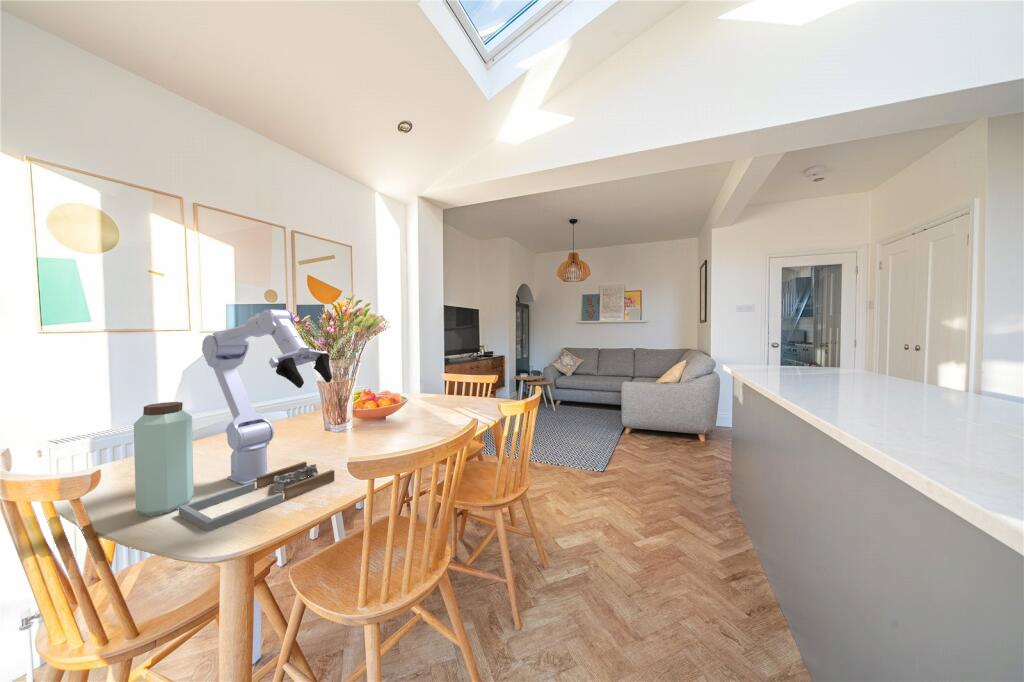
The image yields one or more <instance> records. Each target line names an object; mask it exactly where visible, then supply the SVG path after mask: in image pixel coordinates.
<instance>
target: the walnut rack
mask: <svg viewBox="0 0 1024 682" xmlns="http://www.w3.org/2000/svg"><path fill="white" fill-rule="evenodd" d="M307 464H308V463H307V462H306V461H302V462H299V463H296V464H293V465H289V466H287V467H283V468H281V469H277V470H274V471H270V472H271V473H268V474H265V475H262V476H258V477H257V481H256V488H257V489H258V488H260V489H263V488H265V486H266V487H268V486H267V485H269V486H271V485H270V484H272V485H274V484H273V483H275V481H274V476H278V475H279V477H280V476H281V475H284V474H287V473H293V472H295V471H297V470H302V469H303V468H304V467H306V466H308V465H307ZM330 482H331V483H333V482H335V470H333V469H330V470H328V471H324V472H322V473H318V475H316V476H314V477H311V478H308V479H306V480H303V481H300V482H297V483H295V484H292V485H289V486H287V487H284V494H283V500H286V501H289V500H291V499H294V498H296V497H298V495H299V496H301V495H304V494H305V493H308V492H311V491H314V490H315V489H318V488H321V487H323V486H325V485H328V484H331V483H330ZM262 487H263V488H262ZM303 493H304V494H303ZM293 497H294V498H293Z"/></svg>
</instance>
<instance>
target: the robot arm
mask: <svg viewBox="0 0 1024 682" xmlns="http://www.w3.org/2000/svg"><path fill="white" fill-rule="evenodd" d="M294 320H295V319H294V315H293V314H292V312H291V311H289V310H286V309H271V308H270V309H269V308H266V309H265V310H263V311H261V312H260V313H255V314H254V315H253V317H250V318H248V319H247V320H246V321H245V324H242V325H238V326H236V327H232V328H231V327H230V328H228V329H224V330H219V331H215V332H213V333H212V334H208V335H206V336H205V337H204V339H203V341H202V344H201V345H202V346H201V351H202V355H203V356H204V360H205V361H206V363H207V365H208V367H210V368H212V369H213V371H214V373H215V376H216V379H217V380H218V383H219V386H220V388H221V390H222V392H223V396H224V399H225V400H226V404H227V406H228V408H229V410H230V412H231V415H232V418H233V419H232V420H231V422H229V423H228V424H227V426H226V428H225V432H226V436H227V437H226V438H227V444H228V446H229V447H230V449H232V452H231V454H230V475H228V476H227V477H226V478H227V479H228V480H230V481H234V482H236V483H238V484H240V485H245V484H248V483H251V482H254V483H255V482H257V477H258V476H262V475H265V474H268V473H271V472H272V471H268V448H267V447H268V445H270V442H271V441H272V440H273V437H274V436H275V428H274V425H273V424H272V423H271V422H270V420H268V418H267V416H266V415H264V414H262V413H259V412H256V411H255V410H254V406H253V404H252V402H251V400H250V398H249V395H248V393H247V390H246V388H245V386H244V383H243V380H242V379H241V376H240V374H239V372H238V371H239V370H238V369H237V367H239V366H241V365H243V363H244V360H245V358H246V356H247V354H248V351H249V347H250V340H249V338H250V337H255V338H261V337H263V336H267V335H269V336H271V337H272V338H273V340H274V341H275V343H276V345H277V347H278V348H279V349H280V351H281V353H282V354H280V355H276V356H272V357H270V359H269V360H268V364H269V366H270V367H271V369H274V368H276V369H275V373H276V374H277V375H278V376H280V377H283V378H285V379H287V380H288V381H289V382H290V383H292V384H293V385H294V386H296V388H297V389H301V388H302V387H303V385H304V383H305V381H304V379H303V377H302V375H301V373H300V372H299V370H298V368H297V367H298V366H302V365H306V364H308V363H310V362H314V364H315V365H314V366H313V369H314V371H316V372H318V373H319V375H321V378H322V379H323V380H324V381H325V383H330V382H331V381H332V379H333V375H332V372H331V368H330V354H329V352H328V351H326V350H324V351H322V350H316V349H313V348H312V349H310V346H309V345H307V344H306V342H305V341H304V339H303V338H302V336H301V334H300V333H299V331H298V330H297V329H296V326H294V322H295V321H294Z"/></svg>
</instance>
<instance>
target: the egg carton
mask: <svg viewBox="0 0 1024 682" xmlns="http://www.w3.org/2000/svg"><path fill="white" fill-rule="evenodd" d="M316 475H319V472H318V468H317V464H310V465H307V466H306V467H304V468H303V469H302V470H297V471H295V472H293V473H287V474H284V475H281V476H280V477H279V475H278V476H274V481H275V483H274V484H273V485H274V491H279V492H278V493H283V492H282V491H284V487H287V486H289V485H292V484H295V483H297V482H300V481H303V480H306V479H308V478H311V477H314V476H316ZM308 476H309V477H308ZM274 491H273V492H274Z"/></svg>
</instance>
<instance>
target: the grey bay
mask: <svg viewBox="0 0 1024 682" xmlns="http://www.w3.org/2000/svg"><path fill="white" fill-rule="evenodd" d="M253 490H255V491H256V482H255V481H254V482H251V483H248V484H245V485H243V484H241V485H240V486H238V487H234V488H231V489H228V490H224V491H222V492H220V493H215V494H212V495H210V496H207V497H204V498H200V499H197V500H194V501H192V502H191V501H190V502H188V503H187V504H185V505H182V506H179V509H178V516H179V515H180V517H181V518H183V519H184V518H185V520H186V521H188V522H189V523H191V524H193V525H195V526H197V527H198V528H200V529H202V530H203V531H205V532H207V533H210V532H211V531H214V529H215V530H216V529H219V527H220V528H222V527H224V526H226V525H230V524H231V523H234V522H237V521H240V520H241V519H244V518H246V517H249V516H251V515H253V514H257V513H259V512H261V511H264V510H266V509H268V508H270V507H271V508H272V507H274V506H276V505H278V504H281V503H283V502H284V494H283V492H278V493H277V494H273V495H271V496H268V497H266V498H263V499H261V500H259V501H255V502H253V503H250V504H247V505H245V506H242V507H239V508H237V509H234V510H231V511H229V512H226V513H223V514H221V515H219V516H216V517H215V516H214V517H213V518H211V517H210V516H208V515H206V514H204V513H202V512H200V511H201V510H204V509H205V508H206V507H207V508H209V506H210V507H212V506H215V505H218V504H221V503H224V502H226V501H229V500H231V499H236V498H238V497H240V495H241V496H243V495H246V494H249V493H252V492H254V491H253ZM251 491H252V492H251ZM248 492H249V493H248ZM245 493H246V494H245ZM242 494H243V495H242ZM237 496H238V497H237ZM223 501H224V502H223ZM220 502H221V503H220ZM207 508H206V509H207Z"/></svg>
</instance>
